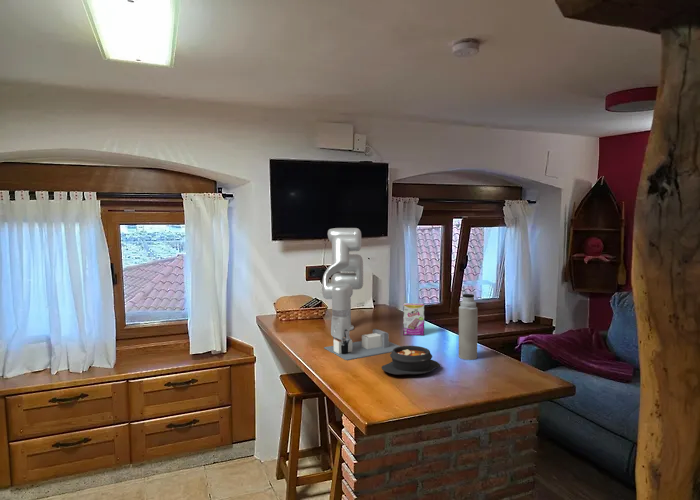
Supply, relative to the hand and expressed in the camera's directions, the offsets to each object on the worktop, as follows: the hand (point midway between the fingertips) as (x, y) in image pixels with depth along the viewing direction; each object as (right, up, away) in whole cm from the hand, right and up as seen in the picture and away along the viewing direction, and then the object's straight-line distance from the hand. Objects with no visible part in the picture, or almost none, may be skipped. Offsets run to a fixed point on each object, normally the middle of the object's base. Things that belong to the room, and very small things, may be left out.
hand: (340, 351), depth 211 cm
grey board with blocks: (+11, 0, +6) cm, 13 cm away
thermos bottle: (+56, -1, -8) cm, 57 cm away
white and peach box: (+1, -1, +1) cm, 1 cm away
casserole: (+29, -3, -25) cm, 38 cm away
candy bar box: (+38, +2, +32) cm, 50 cm away
